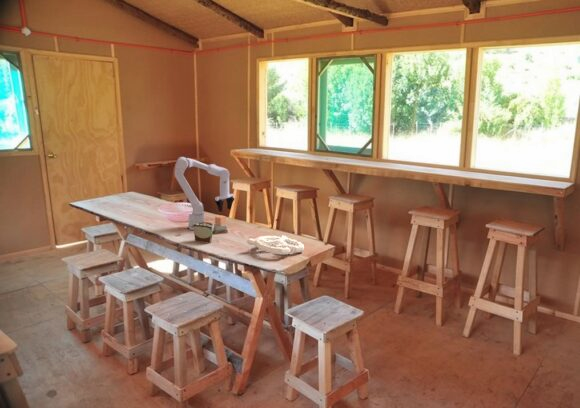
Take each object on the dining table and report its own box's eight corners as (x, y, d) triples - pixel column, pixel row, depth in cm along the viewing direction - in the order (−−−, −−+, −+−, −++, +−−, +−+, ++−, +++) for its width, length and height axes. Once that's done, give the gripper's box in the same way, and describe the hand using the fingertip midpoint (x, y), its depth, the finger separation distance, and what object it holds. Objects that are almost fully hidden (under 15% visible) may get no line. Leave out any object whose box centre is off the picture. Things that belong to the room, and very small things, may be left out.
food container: (218, 240, 244) (217, 223, 242) (212, 243, 239) (212, 225, 237) (198, 237, 248) (198, 220, 246) (192, 240, 243) (192, 223, 240)
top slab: (216, 230, 256) (216, 226, 256) (214, 227, 262) (213, 223, 261) (226, 229, 258) (226, 225, 258) (223, 227, 264) (223, 223, 263)
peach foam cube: (220, 226, 256) (220, 218, 255) (215, 225, 259) (214, 216, 257) (225, 224, 260) (225, 216, 259) (220, 223, 262) (220, 215, 261)
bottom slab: (215, 235, 256) (215, 231, 255) (213, 231, 262) (213, 227, 262) (227, 234, 258) (227, 230, 258) (224, 230, 265) (224, 226, 264)
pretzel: (281, 242, 248) (282, 231, 247) (311, 254, 231) (312, 242, 230) (241, 246, 229) (243, 234, 228) (271, 259, 212) (273, 247, 211)
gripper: (221, 191, 258) (221, 213, 261) (237, 187, 270) (237, 209, 273) (212, 189, 262) (212, 211, 265) (229, 186, 273) (229, 207, 277)
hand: (224, 210), depth 269 cm, fingers open, 7 cm apart
